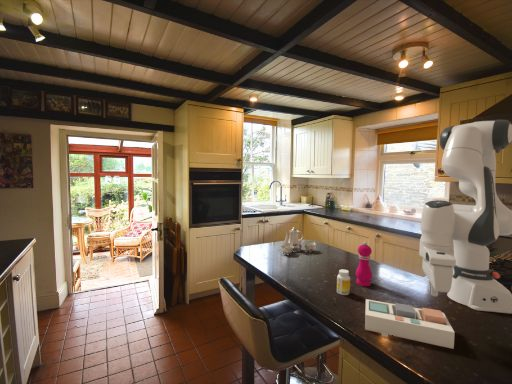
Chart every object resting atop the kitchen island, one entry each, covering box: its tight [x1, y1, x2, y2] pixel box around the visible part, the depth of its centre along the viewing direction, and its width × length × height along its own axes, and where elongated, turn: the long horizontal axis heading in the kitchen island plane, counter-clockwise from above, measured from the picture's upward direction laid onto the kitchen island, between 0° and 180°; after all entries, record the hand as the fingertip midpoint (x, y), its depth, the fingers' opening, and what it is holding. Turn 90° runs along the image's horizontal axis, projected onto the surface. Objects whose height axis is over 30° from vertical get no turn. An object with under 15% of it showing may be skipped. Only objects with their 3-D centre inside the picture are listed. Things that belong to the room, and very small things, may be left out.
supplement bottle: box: [336, 269, 351, 296], centre depth 113 cm, size 5×5×10 cm
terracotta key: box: [421, 307, 445, 325], centre depth 84 cm, size 5×5×3 cm
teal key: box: [370, 303, 387, 314], centre depth 91 cm, size 5×5×3 cm
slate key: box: [394, 302, 415, 319], centre depth 87 cm, size 5×5×3 cm
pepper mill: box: [355, 241, 373, 287], centre depth 123 cm, size 7×7×20 cm
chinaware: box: [278, 226, 318, 255], centre depth 174 cm, size 28×17×17 cm, turn 119°
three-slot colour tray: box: [364, 298, 456, 350], centre depth 87 cm, size 24×12×5 cm, turn 67°
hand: (433, 294), depth 84 cm, fingers closed
